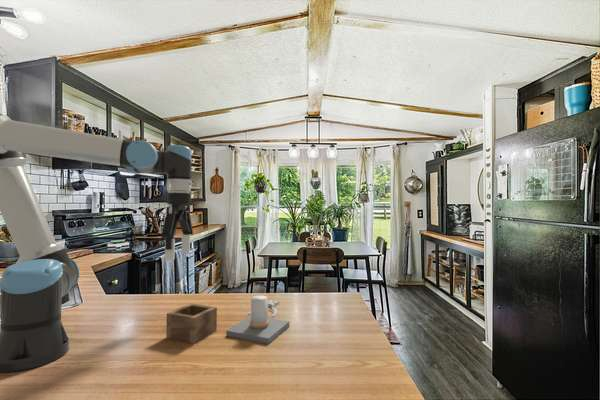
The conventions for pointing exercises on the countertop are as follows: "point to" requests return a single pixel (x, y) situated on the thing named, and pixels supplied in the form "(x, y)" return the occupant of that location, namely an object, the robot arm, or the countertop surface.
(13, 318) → the robot arm
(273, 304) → the pliers
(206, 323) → the collar
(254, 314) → the square plate with peg
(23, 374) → the countertop surface
